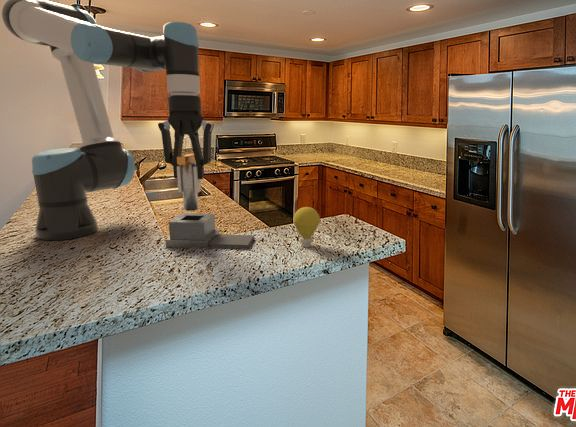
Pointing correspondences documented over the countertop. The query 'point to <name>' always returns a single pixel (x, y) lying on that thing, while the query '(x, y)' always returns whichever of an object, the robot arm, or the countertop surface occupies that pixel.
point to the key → (188, 181)
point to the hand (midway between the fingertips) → (189, 191)
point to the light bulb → (306, 224)
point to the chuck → (192, 231)
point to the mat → (232, 241)
